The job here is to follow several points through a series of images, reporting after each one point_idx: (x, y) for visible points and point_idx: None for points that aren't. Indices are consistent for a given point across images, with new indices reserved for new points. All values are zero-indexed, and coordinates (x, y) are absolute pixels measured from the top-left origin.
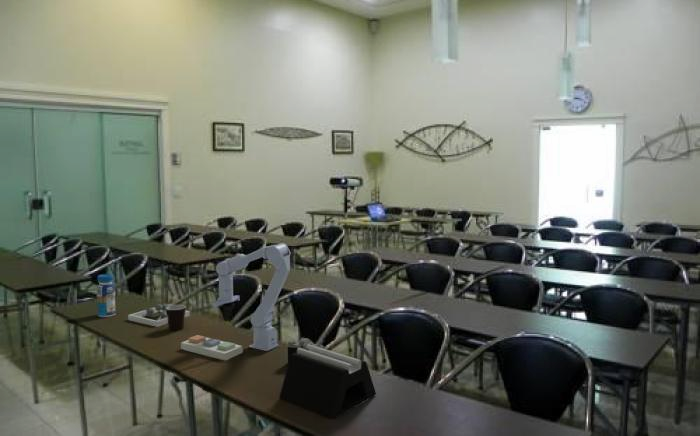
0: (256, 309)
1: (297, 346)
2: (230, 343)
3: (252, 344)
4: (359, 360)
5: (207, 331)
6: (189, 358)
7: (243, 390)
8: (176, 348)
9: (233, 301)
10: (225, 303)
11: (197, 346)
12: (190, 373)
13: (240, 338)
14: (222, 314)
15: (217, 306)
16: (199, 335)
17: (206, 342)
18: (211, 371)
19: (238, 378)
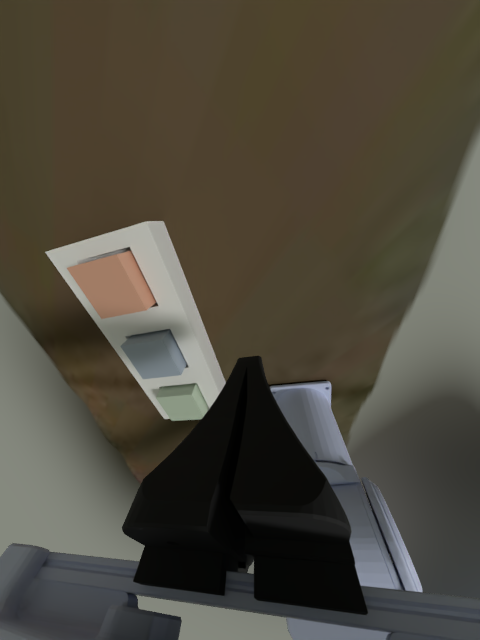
0: (287, 624)
1: None
2: (195, 410)
3: (286, 387)
4: (225, 608)
5: (300, 14)
6: (93, 340)
7: (149, 470)
8: (54, 221)
9: (424, 600)
10: (211, 597)
11: (107, 337)
12: (85, 401)
13: (318, 310)
14: (223, 394)
15: (80, 563)
16: (124, 271)
17: (130, 360)
18: (126, 417)
19: (159, 453)
